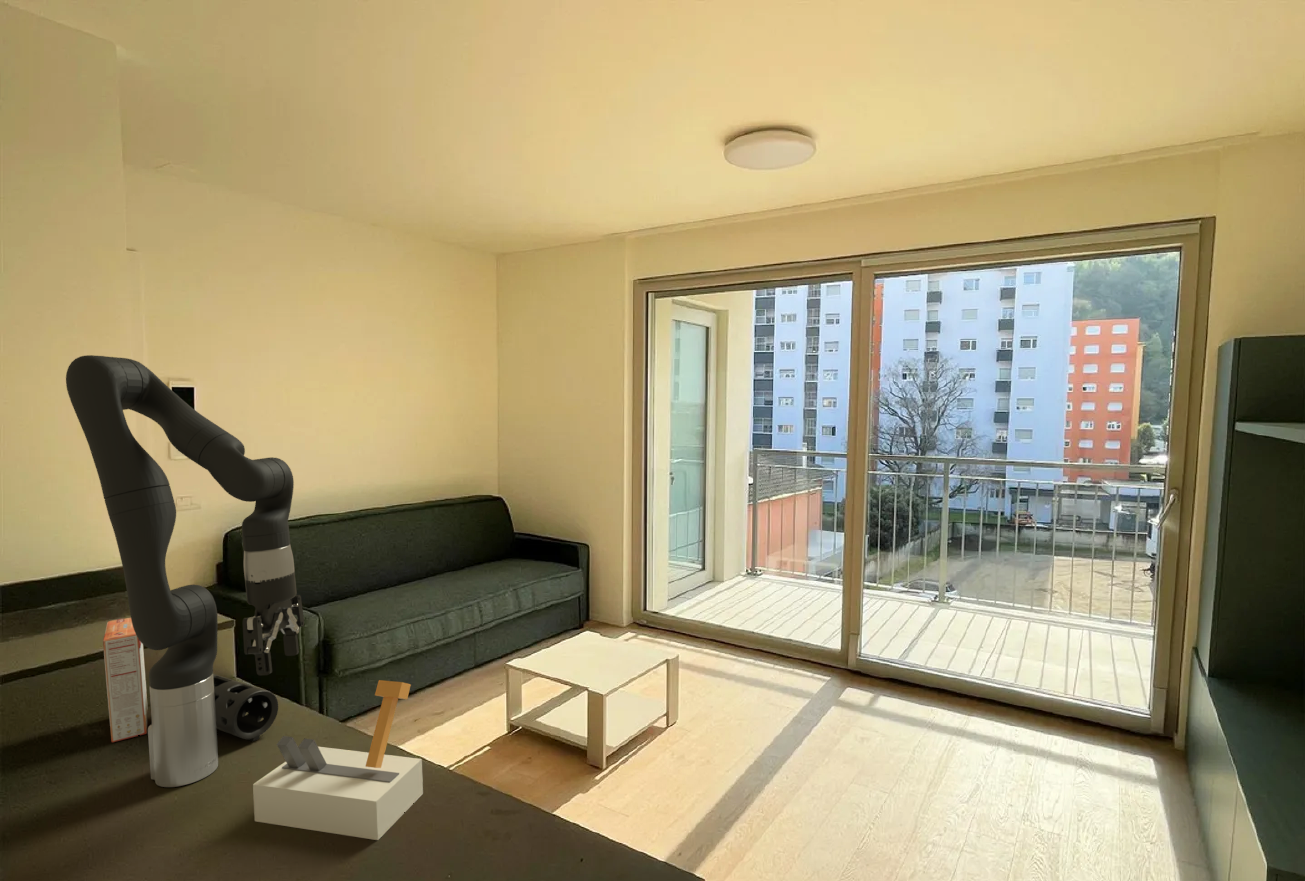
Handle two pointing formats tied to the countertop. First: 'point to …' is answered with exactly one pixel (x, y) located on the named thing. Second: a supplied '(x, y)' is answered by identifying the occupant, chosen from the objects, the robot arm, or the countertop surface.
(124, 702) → the cracker box
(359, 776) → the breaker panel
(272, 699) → the muzzle brake
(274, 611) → the robot arm
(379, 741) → the lever
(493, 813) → the countertop surface
